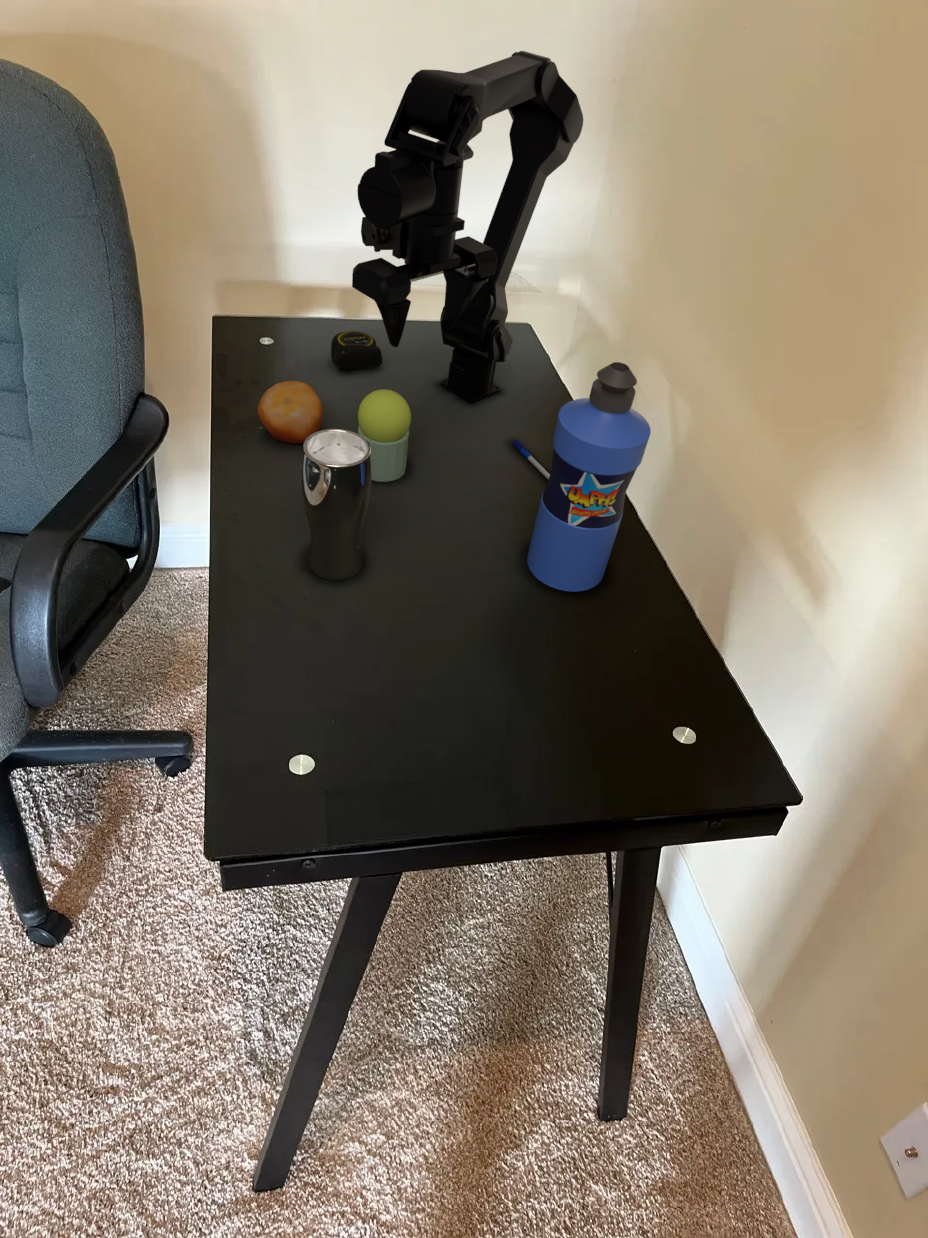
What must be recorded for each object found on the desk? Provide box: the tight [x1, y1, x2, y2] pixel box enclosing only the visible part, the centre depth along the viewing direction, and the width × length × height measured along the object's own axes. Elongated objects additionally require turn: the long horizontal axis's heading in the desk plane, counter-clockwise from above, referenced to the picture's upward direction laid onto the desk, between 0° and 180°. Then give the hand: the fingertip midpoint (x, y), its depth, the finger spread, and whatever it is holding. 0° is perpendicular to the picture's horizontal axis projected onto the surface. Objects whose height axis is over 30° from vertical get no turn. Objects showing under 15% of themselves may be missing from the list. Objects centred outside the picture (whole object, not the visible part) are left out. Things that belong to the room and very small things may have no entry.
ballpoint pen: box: [512, 439, 551, 480], centre depth 109 cm, size 10×1×1 cm, turn 32°
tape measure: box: [330, 330, 384, 370], centre depth 122 cm, size 7×7×4 cm
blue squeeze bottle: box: [526, 361, 652, 593], centre depth 87 cm, size 9×9×25 cm
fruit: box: [257, 380, 324, 444], centre depth 106 cm, size 8×8×8 cm
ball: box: [357, 388, 412, 442], centre depth 100 cm, size 6×6×6 cm
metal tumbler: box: [301, 428, 372, 581], centre depth 86 cm, size 7×7×15 cm
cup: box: [357, 424, 410, 483], centre depth 103 cm, size 6×6×6 cm
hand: (421, 336), depth 104 cm, fingers open, 9 cm apart
